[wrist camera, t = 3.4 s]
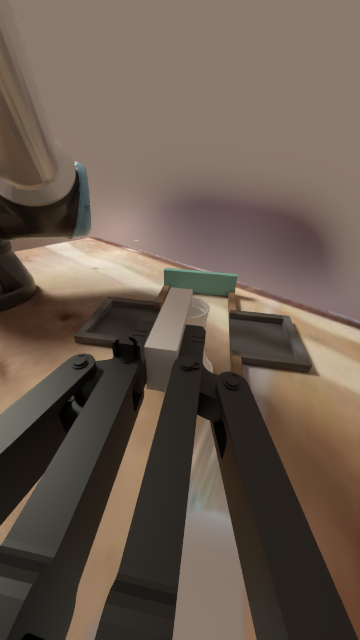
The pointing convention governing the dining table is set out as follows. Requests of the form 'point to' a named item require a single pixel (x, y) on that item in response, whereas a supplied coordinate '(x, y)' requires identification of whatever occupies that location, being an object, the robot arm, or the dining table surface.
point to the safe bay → (200, 281)
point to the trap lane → (244, 328)
